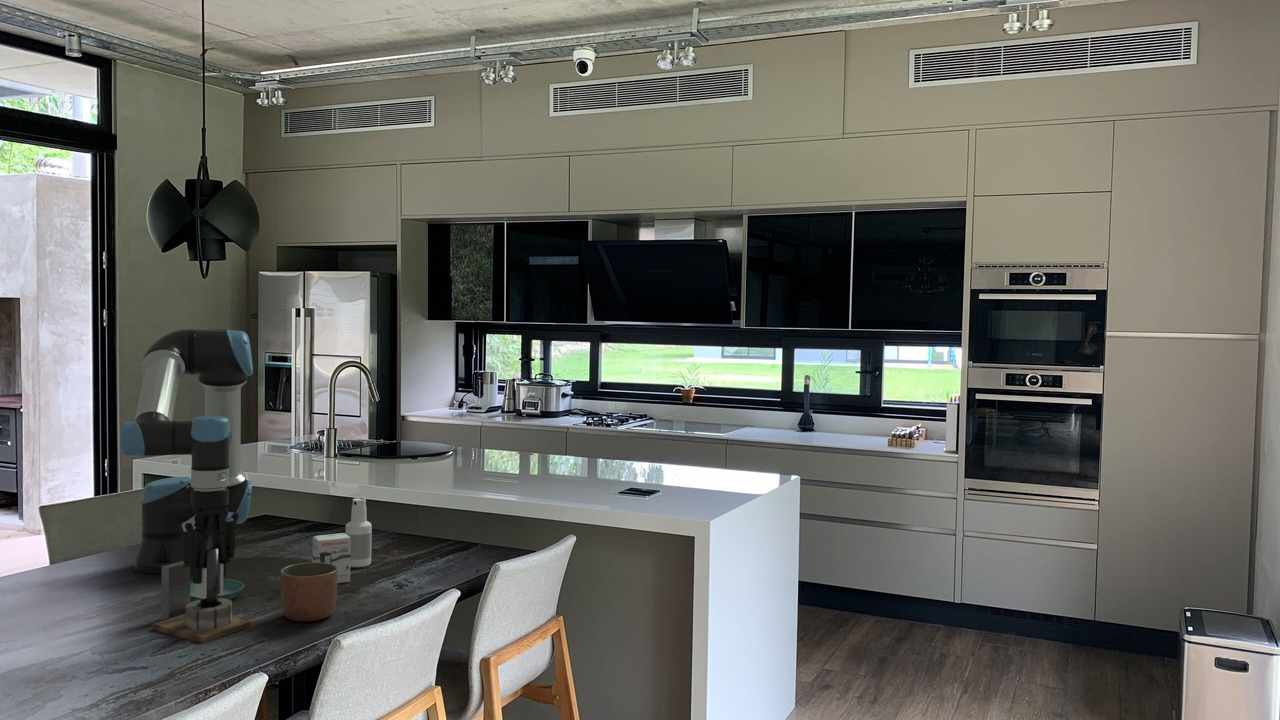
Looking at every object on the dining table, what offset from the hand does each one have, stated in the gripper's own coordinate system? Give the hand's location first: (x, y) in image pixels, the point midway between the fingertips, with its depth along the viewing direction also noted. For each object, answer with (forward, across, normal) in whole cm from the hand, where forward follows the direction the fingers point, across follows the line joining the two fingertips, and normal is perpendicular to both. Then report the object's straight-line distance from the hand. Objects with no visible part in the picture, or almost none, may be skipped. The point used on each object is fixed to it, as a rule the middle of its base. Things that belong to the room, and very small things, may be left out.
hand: (209, 594), depth 208 cm
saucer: (+8, +15, +18) cm, 25 cm away
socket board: (+7, -1, +1) cm, 7 cm away
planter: (+8, +17, -12) cm, 22 cm away
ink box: (+7, +40, +4) cm, 41 cm away
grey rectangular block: (+7, +1, +12) cm, 14 cm away
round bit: (+4, 0, 0) cm, 4 cm away
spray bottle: (+7, +56, +10) cm, 57 cm away
